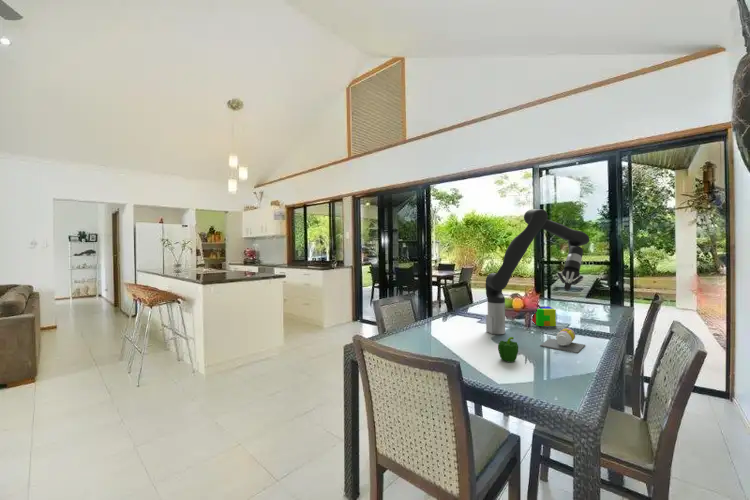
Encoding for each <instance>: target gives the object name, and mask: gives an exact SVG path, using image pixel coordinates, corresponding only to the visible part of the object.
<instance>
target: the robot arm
mask: <svg viewBox="0 0 750 500" xmlns="http://www.w3.org/2000/svg"><path fill="white" fill-rule="evenodd" d="M548 217H549V216H548V212H547V211H546V210H544V209H541V208H537V209H536V208H533V209H529V210H527V211H526V212H525V213H524V216H523V221H524V222H525V223H526V224H527V225H526V227H525V228H524V229H523V231H522V232H520V233H519V234H518V235H517V236H515V237H514V238H513V239H512V240H511V241H510V243H509V245H508V247H507V248H506V250H505V253H504V257H503V261H502V264H501V265H500V267H499V269H498V270H497V271H496V272H491V273H489V274H488V275H487V276H486V278H485V296H486V299H487V300H486V301H487V314H486V315H485V324H486V325H485V326H486V327H485V328H486V329H485V330H486V331H485V332H487V333H489V334H491V335H504V334H506V298H505V296H504V294H503V290H504V289H505V288H506V287H507V285H508V284H509V281H510V279H511V278H512V275H513V273H514V271H515V270H516V268H517V266H518V265H519V263H520V261H521V260H522V259H523V258H524V256H525V254H526V252H527V250H528V249H529V247H530V245H531V243H532V242H533V240H534V239H535V238H536V236H537V235H538V233H539V232H540V231H541V230H544V231H546V232H548V233H550V234H553V235H554V236H555V237H558V238H560V239H562V240H564V241H567V245H568V252H567V257H566V259H565V263H564V267H563V270H561V272H557V278H559V281H561V283H562V284H564V287H563V288H564V291H568V292H569V291H570V290H571V288H572V286H576V285H577V284H579V283H580V282H582V281H583V280H584V276H583V275H581V273H580V270H581V266H582V263H583V255H584V249H583V248H582V247H581V246H585V245H587V244H588V243H589V242H590V237H589V235H588V234H587V233H585V232H584V231H581V230H577V229H576V230H575V229H572V228H570V227H568V226H566V225H565V224H562V223H560V222H556V221H553V220H551V219H548ZM564 278H565V279H564Z"/></svg>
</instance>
